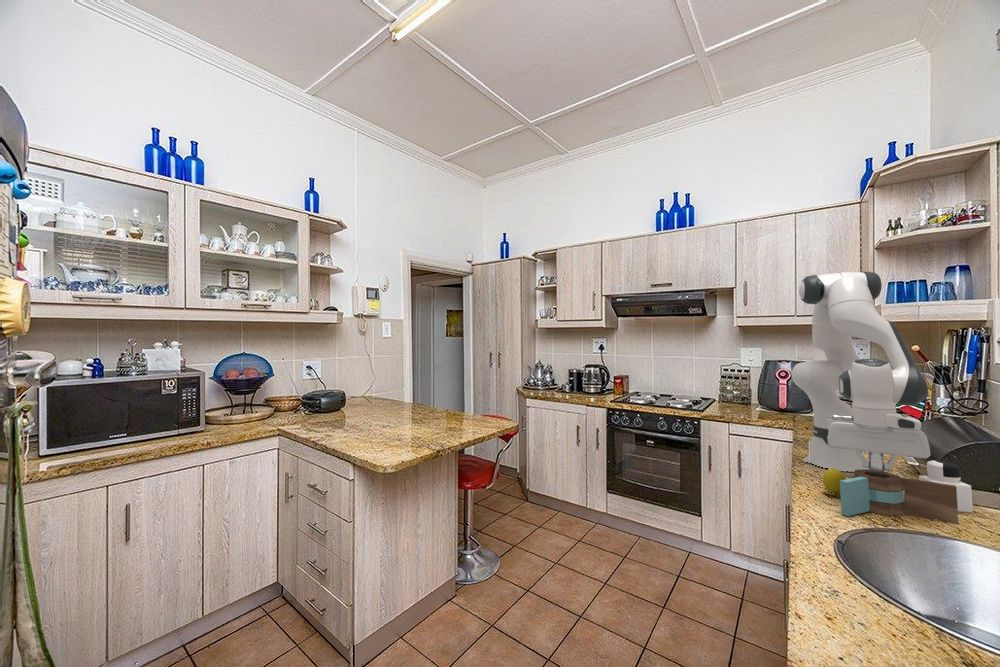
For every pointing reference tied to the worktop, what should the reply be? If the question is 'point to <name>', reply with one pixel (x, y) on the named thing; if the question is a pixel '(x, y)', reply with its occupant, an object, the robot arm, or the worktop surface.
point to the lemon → (833, 480)
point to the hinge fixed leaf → (914, 497)
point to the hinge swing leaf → (863, 496)
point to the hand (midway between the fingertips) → (876, 468)
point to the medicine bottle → (950, 482)
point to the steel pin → (876, 464)
